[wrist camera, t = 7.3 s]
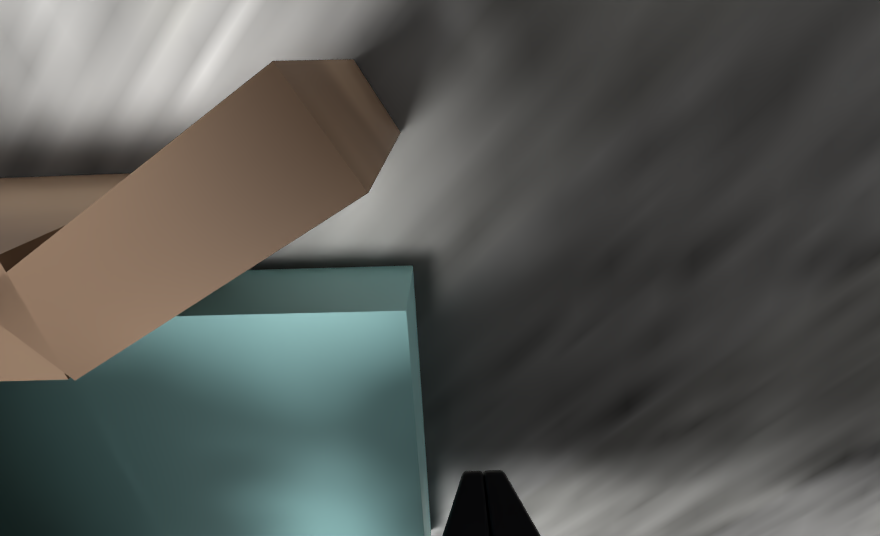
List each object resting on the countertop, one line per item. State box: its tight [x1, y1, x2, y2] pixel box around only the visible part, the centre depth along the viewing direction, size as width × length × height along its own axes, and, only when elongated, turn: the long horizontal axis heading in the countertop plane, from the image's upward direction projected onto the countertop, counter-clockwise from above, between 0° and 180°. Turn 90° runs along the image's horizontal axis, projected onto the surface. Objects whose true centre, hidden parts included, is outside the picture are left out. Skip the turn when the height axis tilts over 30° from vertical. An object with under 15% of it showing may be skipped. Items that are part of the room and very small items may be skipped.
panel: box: [0, 265, 431, 536], centre depth 9 cm, size 8×12×2 cm, turn 92°
